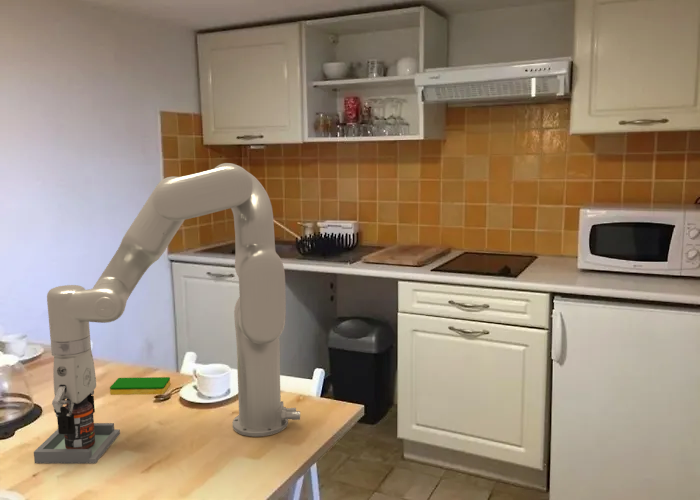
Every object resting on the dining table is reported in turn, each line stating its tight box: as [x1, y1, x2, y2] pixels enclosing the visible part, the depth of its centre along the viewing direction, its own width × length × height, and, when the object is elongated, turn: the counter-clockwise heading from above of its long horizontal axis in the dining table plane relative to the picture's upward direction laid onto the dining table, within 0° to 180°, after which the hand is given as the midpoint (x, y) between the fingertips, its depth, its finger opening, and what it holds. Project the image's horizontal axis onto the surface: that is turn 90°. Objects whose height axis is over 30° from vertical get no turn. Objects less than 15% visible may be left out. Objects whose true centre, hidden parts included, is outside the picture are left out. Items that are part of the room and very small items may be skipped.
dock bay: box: [33, 422, 121, 464], centre depth 135 cm, size 12×13×2 cm
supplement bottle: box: [64, 397, 95, 449], centre depth 134 cm, size 6×6×11 cm
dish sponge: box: [109, 376, 171, 396], centre depth 167 cm, size 7×14×2 cm, turn 91°
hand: (77, 423), depth 134 cm, fingers open, 9 cm apart
